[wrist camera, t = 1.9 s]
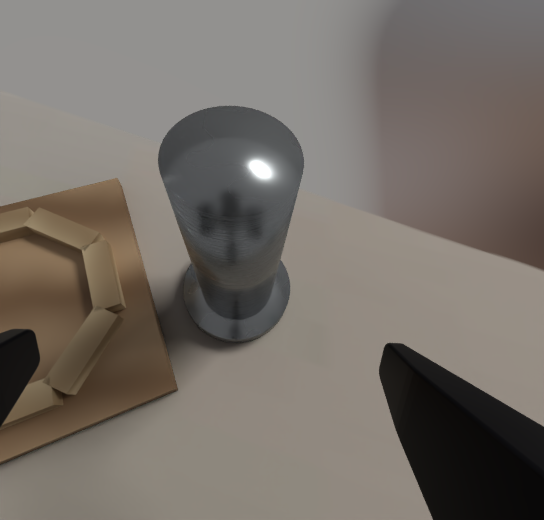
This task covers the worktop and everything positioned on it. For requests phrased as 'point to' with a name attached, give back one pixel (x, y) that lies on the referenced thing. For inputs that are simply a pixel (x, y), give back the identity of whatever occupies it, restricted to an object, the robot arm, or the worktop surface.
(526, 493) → the robot arm
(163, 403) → the worktop surface
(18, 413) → the socket board
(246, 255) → the grey metal cylinder
